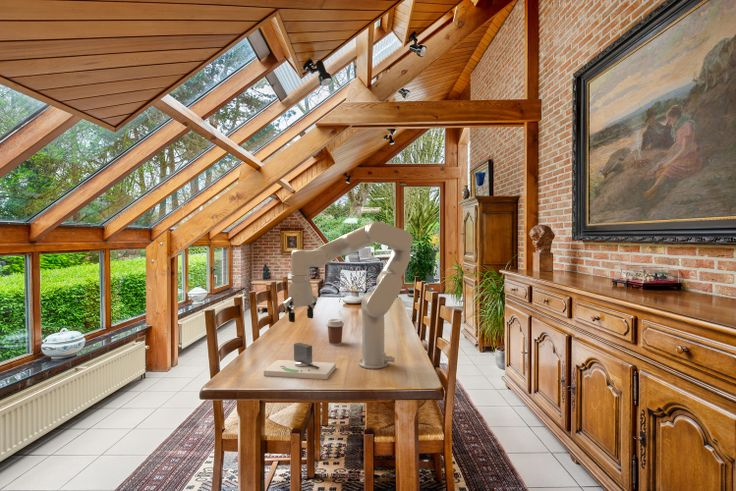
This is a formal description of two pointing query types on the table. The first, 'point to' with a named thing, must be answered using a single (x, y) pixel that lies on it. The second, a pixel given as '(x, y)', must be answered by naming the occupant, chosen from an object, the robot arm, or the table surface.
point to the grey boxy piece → (303, 355)
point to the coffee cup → (335, 331)
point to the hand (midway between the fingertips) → (301, 319)
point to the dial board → (300, 370)
